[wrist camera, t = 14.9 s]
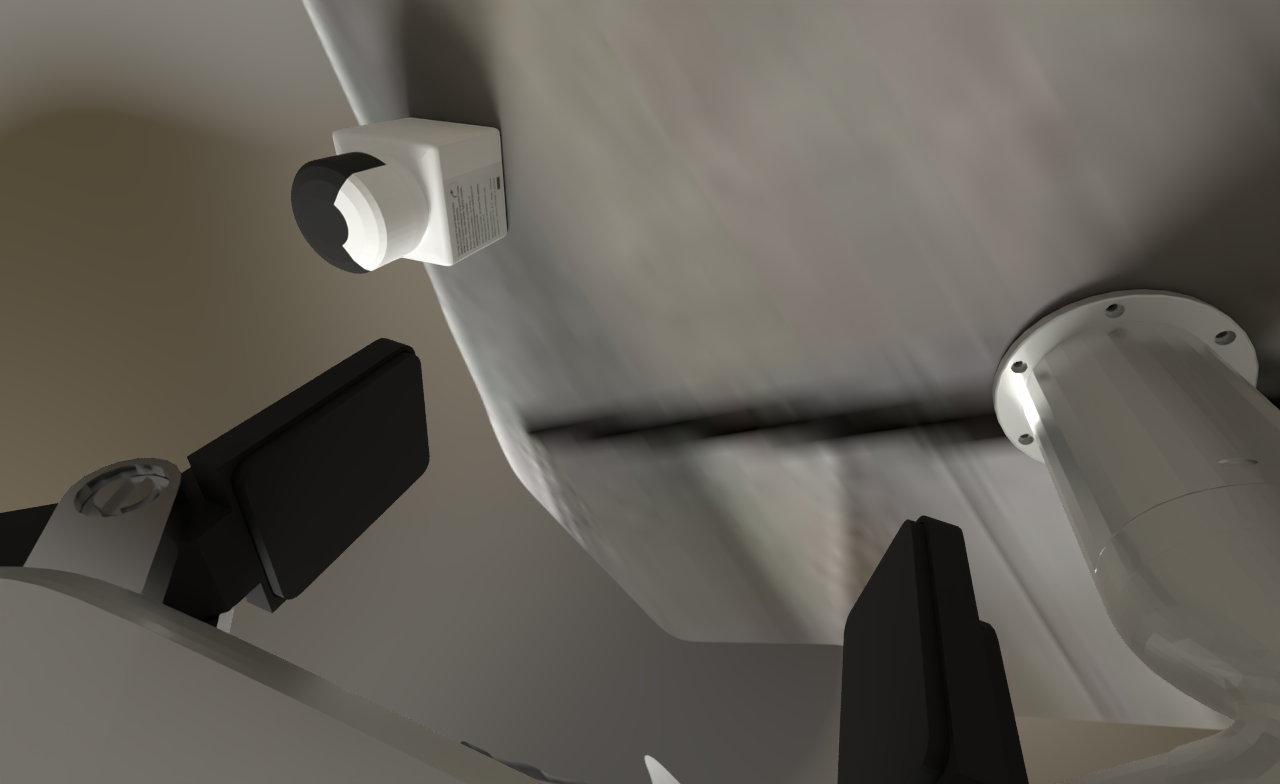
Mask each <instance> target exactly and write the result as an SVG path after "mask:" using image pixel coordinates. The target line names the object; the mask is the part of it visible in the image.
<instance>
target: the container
mask: <svg viewBox="0 0 1280 784" xmlns="http://www.w3.org/2000/svg"><path fill="white" fill-rule="evenodd" d="M332 136H333V141H334V145H335V150H336V154H337V155H336V156H331V157H327V158H323V159H318V160H313V161H310V162H308V163H306V164H305V165H303V166H302V167H301V168H300V169H299V171H298V172H297V174H296V176H295V178H294V181H293V185H292V191H291V202H292V209H293V213H294V216H295V219H296V222H297V224H298V227H299V228H300V231H301V232H302V234H303V236H304V237H305V239H306V240H307V242H308V243H309V244H310V246H311V247H312V248H313V249H314V250H315V251H316V252H317V253H318V254H319V255H320V256H321V257H322V258H323V259H324V260H326V261H327V262H329V263H330V264H332V265H334V266H336V267H338V268H340V269H342V270H345V271H348V272H352V273H360V274H361V273H367V272H370V271H372V270H375V269H377V268H379V267H381V266H383V265H385V264H387V263H389V262H391V261H394V260H396V259H398V258H400V257H403V258H408V259H413V260H419V261H423V262H428V263H434V264H439V265H444V266H451V265H453V264H455V263H457V262H459V261H460V260H462V259H464V258H466V257H468V256H470V255H471V254H473V253H475V252H477V251H479V250H481V249H482V248H484V247H486V246H488V245H490V244H492V243H493V242H495V241H497V240H499V239H501V238H503V237H504V236H505V235H506V234H507V223H506V209H505V196H504V183H503V169H502V156H501V143H500V133H499V130H498V129H496V128H493V127H485V126H477V125H469V124H461V123H452V122H444V121H436V120H428V119H420V118H411V117H408V118H403V119H397V120H391V121H386V122H380V123H374V124H368V125H363V126H357V127H352V128H346V129H340V130H336V131H334V132H333V134H332Z"/></svg>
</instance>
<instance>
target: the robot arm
mask: <svg viewBox="0 0 1280 784" xmlns="http://www.w3.org/2000/svg"><path fill="white" fill-rule="evenodd" d="M1113 304H1115V305H1114V306H1113V307H1112V308H1109V309H1107V308H1108V307H1109V306H1110V305H1113ZM1220 332H1221V333H1220ZM1219 333H1220V334H1219ZM1017 361H1020V362H1019V363H1017V364H1014V363H1015V362H1017ZM1258 369H1259V366H1258V361H1257V356H1256V352H1255V348H1254V346H1253V345H1252V343H1251V341H1250V339H1249V338H1248V336H1247V334H1246V332H1245V331H1244V330H1243V329H1242V328H1241V327H1240V326H1238V325H1237V324H1236V323H1235V322H1234V321H1233V320H1232V319H1231V318H1230V317H1229V316H1227V315H1226V314H1224V313H1223V312H1222V311H1220V310H1219V309H1217V308H1216V307H1215V306H1213V305H1211V304H1208V303H1206V302H1204V301H1202V300H1199V299H1197V298H1195V297H1192V296H1188V295H1184V294H1180V293H1175V292H1171V291H1163V290H1149V289H1137V290H1124V291H1114V292H1109V293H1105V294H1100V295H1096V296H1091V297H1088V298H1085V299H1082V300H1080V301H1077V302H1074V303H1071V304H1069V305H1066V306H1064V307H1062V308H1060V309H1058V310H1056V311H1054V312H1053V313H1051V314H1049V315H1047V316H1045V317H1043V318H1042V319H1041V320H1039V321H1038V322H1037V323H1035V324H1034V325H1033V326H1031V327H1030V328H1028V329H1027V330H1026V331H1025V332H1024V333H1023V334H1022V335H1021V336H1020V337H1019V338H1018V339H1017V340H1016V341H1015V342H1014V343H1013V344H1012V345H1011V347H1010V348H1009V350H1008V351H1007V353H1006V354H1005V356H1004V357H1003V359H1002V360H1001V362H1000V364H999V367H998V370H997V372H996V375H995V377H994V384H993V391H992V395H993V404H994V409H995V412H996V415H997V418H998V422H999V424H1000V425H1001V427H1002V429H1003V431H1004V433H1005V434H1006V436H1007V437H1008V438H1009V439H1010V441H1011V442H1012V443H1013V444H1014V445H1015V446H1016V447H1017V448H1018V449H1020V450H1021V451H1023V452H1024V453H1025V454H1027V455H1028V456H1029V457H1031V458H1033V459H1035V460H1037V461H1039V462H1041V463H1043V464H1045V465H1046V466H1047V468H1048V471H1049V473H1050V476H1051V478H1052V480H1053V483H1054V485H1055V488H1056V490H1057V493H1058V495H1059V497H1060V500H1061V502H1062V505H1063V507H1064V510H1065V512H1066V514H1067V517H1068V519H1069V522H1070V524H1071V527H1072V529H1073V531H1074V534H1075V536H1076V539H1077V541H1078V544H1079V546H1080V548H1081V551H1082V553H1083V556H1084V558H1085V561H1086V563H1087V565H1088V568H1089V570H1090V573H1091V575H1092V578H1093V580H1094V582H1095V585H1096V587H1097V589H1098V591H1099V594H1100V596H1101V599H1102V601H1103V603H1104V606H1105V608H1106V611H1107V613H1108V615H1109V617H1110V619H1111V621H1112V623H1113V625H1114V627H1115V629H1116V630H1117V632H1118V633H1119V635H1120V636H1121V638H1122V639H1123V641H1124V642H1125V643H1126V645H1127V646H1128V647H1129V649H1130V650H1131V651H1132V652H1133V653H1134V654H1135V655H1136V656H1137V657H1138V658H1139V659H1140V660H1141V661H1142V662H1143V663H1144V664H1145V665H1146V666H1147V667H1148V668H1149V669H1150V670H1152V671H1153V672H1154V673H1155V674H1157V675H1158V676H1159V677H1161V678H1162V679H1163V680H1165V681H1166V682H1168V683H1169V684H1171V685H1172V686H1174V687H1175V688H1176V689H1178V690H1179V691H1181V692H1182V693H1184V694H1186V695H1187V696H1189V697H1191V698H1193V699H1194V700H1196V701H1198V702H1200V703H1201V704H1203V705H1205V706H1207V707H1208V708H1210V709H1212V710H1214V711H1216V712H1218V713H1220V714H1221V715H1223V716H1225V717H1227V718H1229V719H1231V720H1233V721H1235V723H1233V724H1232V725H1231V726H1230V727H1229V728H1227V729H1225V730H1223V731H1222V732H1220V733H1219V734H1216V735H1213V736H1210V737H1207V738H1204V739H1200V740H1198V741H1194V742H1191V743H1188V744H1184V745H1181V746H1179V747H1176V748H1175V749H1174V750H1173V751H1171V752H1167V753H1164V754H1160V755H1157V756H1153V757H1149V758H1146V759H1142V760H1139V761H1135V762H1131V763H1128V764H1124V765H1120V766H1117V767H1113V768H1110V769H1106V770H1102V771H1099V772H1095V773H1092V774H1088V775H1085V776H1081V777H1077V778H1074V779H1070V780H1066V781H1063V782H1060V783H1056V784H1280V410H1279V409H1278V408H1277V407H1275V406H1274V405H1273V404H1272V403H1271V402H1270V401H1269V400H1268V399H1267V398H1266V397H1265V396H1263V395H1262V394H1261V393H1260V392H1259V391H1258V390H1257V389H1256V386H1257V379H1258ZM429 457H430V456H429V446H428V436H427V424H426V414H425V403H424V392H423V382H422V371H421V362H420V360H419V358H418V357H417V356H416V355H415V351H414V350H413V348H412V347H410V346H408V345H405V344H402V343H398V342H396V341H393V340H390V339H386V338H381V339H378V340H376V341H374V342H373V343H371V344H370V345H368V346H366V347H365V348H363V349H361V350H360V351H358V352H357V353H355V354H353V355H352V356H350V357H349V358H347V359H345V360H343V361H342V362H340V363H339V364H337V365H335V366H334V367H332V368H331V369H329V370H327V371H326V372H324V373H322V374H321V375H319V376H317V377H316V378H314V379H313V380H311V381H309V382H308V383H306V384H304V385H303V386H301V387H300V388H298V389H296V390H295V391H293V392H291V393H290V394H289V395H287V396H285V397H283V398H282V399H280V400H278V401H277V402H275V403H274V404H272V405H270V406H269V407H267V408H265V409H264V410H262V411H261V412H259V413H257V414H256V415H254V416H252V417H251V418H249V419H248V420H246V421H244V422H243V423H241V424H239V425H238V426H236V427H234V428H233V429H231V430H230V431H228V432H226V433H225V434H223V435H221V436H220V437H218V438H217V439H215V440H213V441H212V442H210V443H208V444H207V445H205V446H204V447H202V448H200V449H199V450H197V451H195V452H194V453H192V454H191V455H189V456H187V458H188V460H189V463H190V465H191V468H189V469H187V470H186V471H184V472H183V473H181V472H180V470H179V468H178V467H177V465H175V464H173V463H172V462H170V461H168V460H164V459H158V458H136V459H131V460H126V461H120V462H116V463H114V464H111V465H108V466H105V467H102V468H100V469H98V470H96V471H94V472H92V473H90V474H88V475H86V476H84V477H83V478H81V479H80V480H79V481H77V482H76V483H75V484H73V485H72V486H71V487H70V488H69V489H68V491H67V492H66V493H65V494H64V495H63V497H62V498H61V500H60V502H59V503H57V504H50V505H45V506H39V507H33V508H27V509H22V510H16V511H10V512H4V513H0V784H543V783H541V782H539V781H537V780H535V779H533V778H531V777H529V776H527V775H525V774H523V773H521V772H519V771H516V770H514V769H512V768H510V767H508V766H506V765H504V764H502V763H500V762H498V761H496V760H494V759H491V758H489V757H487V756H485V755H483V754H481V753H479V752H477V751H475V750H473V749H471V748H468V747H466V746H464V745H462V744H460V743H458V742H456V741H454V740H452V739H450V738H448V737H446V736H443V735H441V734H439V733H437V732H435V731H433V730H431V729H429V728H427V727H425V726H423V725H420V724H418V723H416V722H414V721H412V720H410V719H408V718H406V717H404V716H401V715H399V714H397V713H395V712H393V711H391V710H389V709H387V708H385V707H382V706H380V705H378V704H376V703H374V702H372V701H370V700H368V699H366V698H364V697H362V696H359V695H357V694H355V693H353V692H351V691H349V690H347V689H345V688H343V687H341V686H339V685H336V684H334V683H332V682H330V681H328V680H326V679H324V678H322V677H320V676H317V675H315V674H313V673H311V672H309V671H307V670H304V669H303V668H301V667H298V666H296V665H294V664H292V663H290V662H288V661H286V660H284V659H281V658H279V657H277V656H275V655H273V654H270V653H269V652H266V651H264V650H262V649H260V648H258V647H256V646H254V645H252V644H250V643H247V642H245V641H243V640H241V639H239V638H237V637H235V636H233V635H230V634H229V631H230V626H231V621H232V616H233V612H234V607H235V605H236V604H237V603H239V602H240V601H241V600H242V599H243V598H244V597H245V596H246V599H247V601H248V602H249V603H252V604H253V605H256V606H258V607H260V608H262V609H265V610H266V611H269V612H271V613H273V612H274V611H275V610H276V609H277V608H278V607H279V606H280V605H281V604H282V603H284V602H285V601H286V600H287V599H288V600H289V599H293V598H295V597H297V596H298V595H299V594H301V593H302V592H303V591H304V590H305V589H306V588H307V587H308V586H309V585H310V584H311V583H312V582H313V581H314V580H315V579H316V578H317V577H318V576H319V575H320V574H321V573H322V572H323V571H324V570H325V569H326V568H327V567H329V565H331V563H333V562H334V561H335V560H336V559H337V558H338V557H339V556H340V555H341V554H342V553H343V552H344V551H345V550H346V549H347V548H348V547H349V546H350V545H351V544H352V543H353V542H354V541H355V540H356V539H357V538H358V537H359V536H360V535H361V534H362V533H363V532H364V531H365V530H366V529H367V528H368V527H369V526H370V525H371V524H372V523H374V522H375V520H377V519H378V517H380V516H381V515H382V514H383V513H384V512H385V511H386V510H387V509H388V508H389V507H390V506H391V505H392V504H393V503H394V502H395V501H396V500H397V499H398V498H399V497H400V496H401V495H402V494H403V493H404V492H405V491H406V490H407V489H408V488H409V487H410V486H411V485H412V484H413V483H414V482H415V481H416V480H417V479H418V478H419V477H421V476H422V474H423V473H424V472H425V470H426V469H427V466H428V464H429ZM839 739H840V740H839V761H838V784H1029V782H1028V778H1027V773H1026V769H1025V764H1024V759H1023V755H1022V750H1021V745H1020V741H1019V735H1018V731H1017V726H1016V721H1015V717H1014V712H1013V707H1012V703H1011V698H1010V693H1009V688H1008V684H1007V679H1006V674H1005V670H1004V665H1003V660H1002V656H1001V651H1000V646H999V641H998V638H997V635H996V632H995V630H994V629H993V627H992V626H991V625H990V624H988V623H986V622H983V621H980V620H979V617H978V611H977V606H976V601H975V595H974V590H973V585H972V579H971V574H970V569H969V563H968V558H967V553H966V547H965V542H964V537H963V533H962V530H961V529H960V528H959V527H958V526H955V525H952V524H949V523H946V522H943V521H940V520H937V519H934V518H931V517H928V516H921V517H920V518H918V520H917V521H916V522H915V521H912V520H906V521H905V522H904V523H903V524H902V526H901V528H900V529H899V531H898V533H897V534H896V536H895V538H894V539H893V541H892V543H891V544H890V546H889V548H888V550H887V551H886V553H885V555H884V556H883V558H882V560H881V561H880V563H879V565H878V566H877V568H876V570H875V571H874V573H873V575H872V576H871V578H870V580H869V581H868V583H867V585H866V586H865V588H864V590H863V592H862V593H861V595H860V597H859V598H858V600H857V602H856V603H855V605H854V607H853V608H852V610H851V612H850V614H849V616H848V618H847V621H846V625H845V630H844V645H843V671H842V692H841V715H840V738H839Z"/></svg>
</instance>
